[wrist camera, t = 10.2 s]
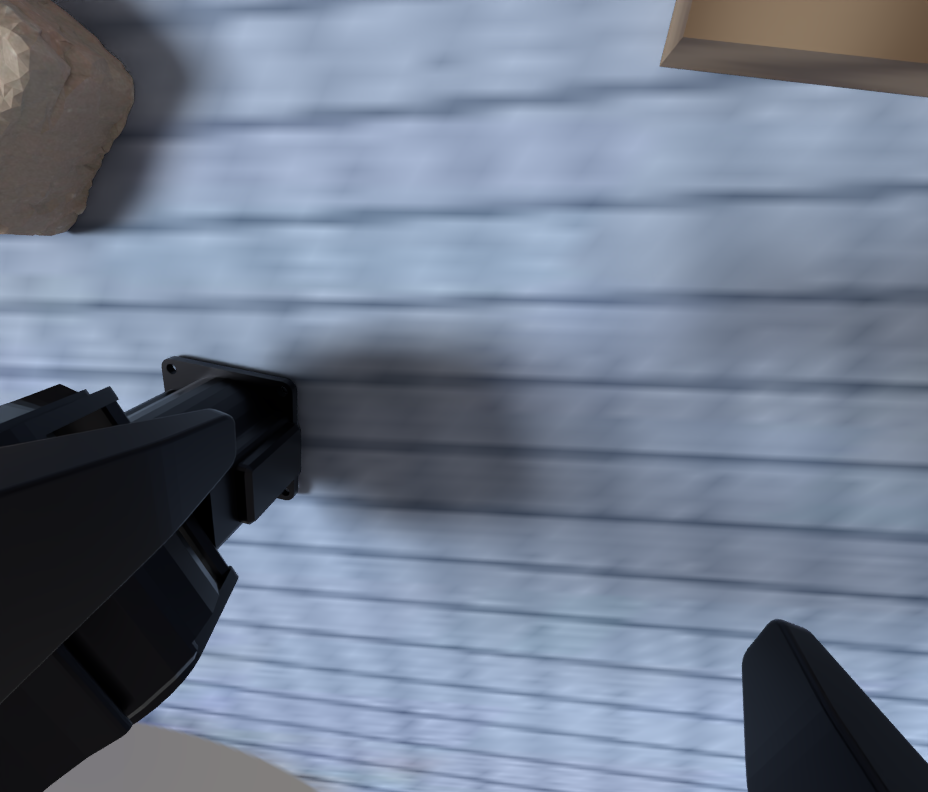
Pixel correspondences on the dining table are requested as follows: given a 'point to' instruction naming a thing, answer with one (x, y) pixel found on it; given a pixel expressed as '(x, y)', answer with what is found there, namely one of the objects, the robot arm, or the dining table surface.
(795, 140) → the dining table surface
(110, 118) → the brick
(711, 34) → the plate
